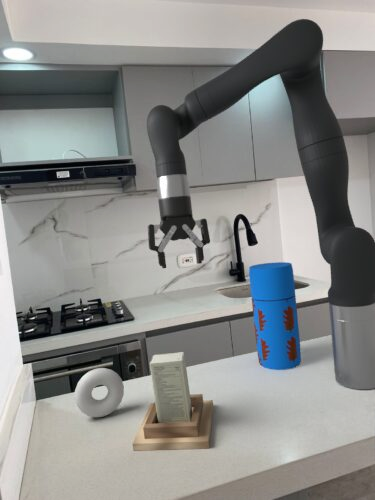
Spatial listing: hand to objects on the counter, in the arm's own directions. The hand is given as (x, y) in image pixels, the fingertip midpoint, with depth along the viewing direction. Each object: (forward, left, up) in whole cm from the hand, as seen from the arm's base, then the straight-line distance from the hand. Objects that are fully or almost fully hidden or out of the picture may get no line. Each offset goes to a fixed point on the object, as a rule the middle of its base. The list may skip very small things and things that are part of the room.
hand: (182, 265), depth 84 cm
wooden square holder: (+2, +19, -28) cm, 34 cm away
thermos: (-21, -9, -28) cm, 36 cm away
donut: (+18, +14, -28) cm, 36 cm away
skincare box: (+2, +19, -27) cm, 33 cm away
